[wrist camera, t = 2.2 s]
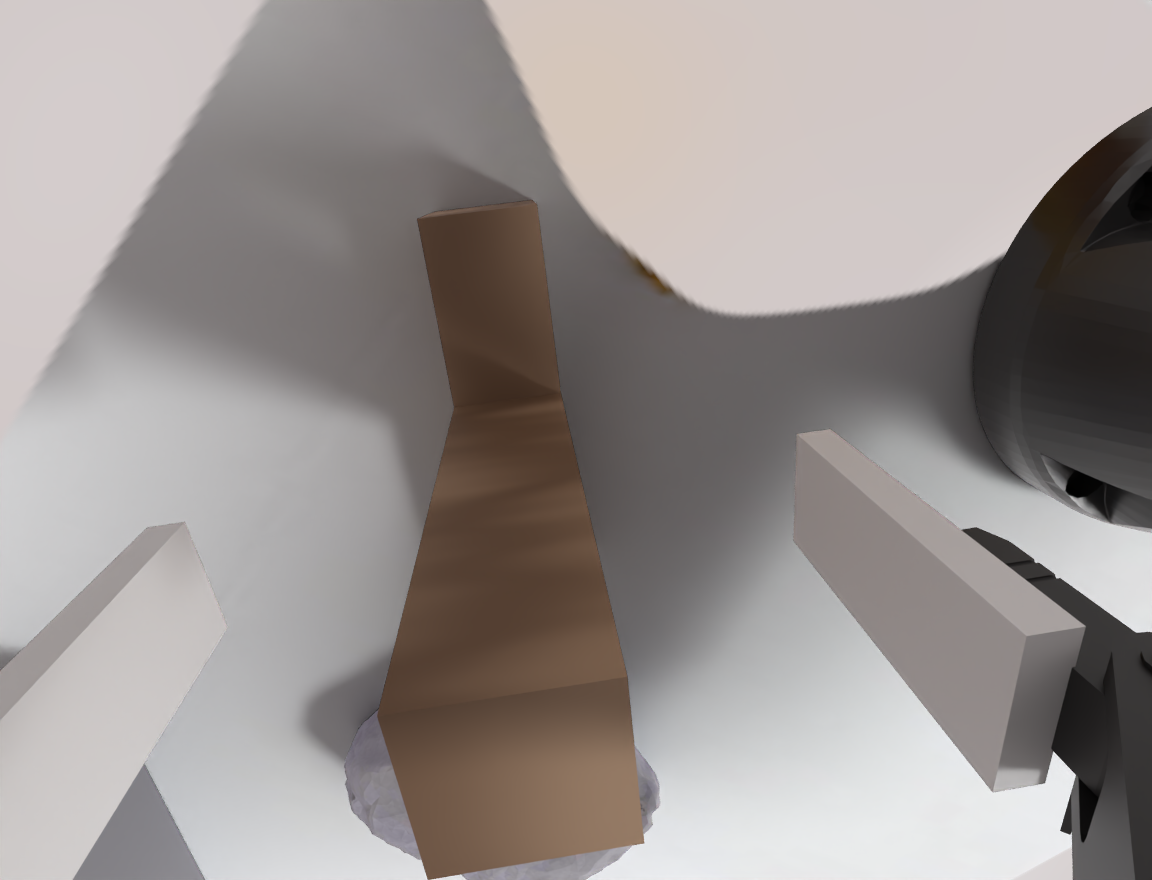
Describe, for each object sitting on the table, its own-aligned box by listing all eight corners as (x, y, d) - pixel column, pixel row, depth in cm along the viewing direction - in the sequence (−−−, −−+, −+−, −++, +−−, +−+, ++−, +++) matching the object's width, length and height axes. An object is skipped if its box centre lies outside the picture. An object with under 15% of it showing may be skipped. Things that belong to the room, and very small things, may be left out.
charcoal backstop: (90, 662, 24) (-8, 775, 20) (212, 894, 30) (157, 1026, 25) (10, 674, 24) (-109, 791, 19) (147, 905, 29) (79, 1040, 25)
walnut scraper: (531, 199, 19) (583, 246, 6) (577, 555, 24) (663, 1040, 11) (434, 211, 19) (244, 288, 6) (500, 566, 24) (487, 1072, 11)
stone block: (505, 575, 27) (329, 735, 27) (527, 640, 22) (317, 832, 22) (662, 719, 31) (513, 857, 31) (707, 797, 27) (533, 957, 27)
